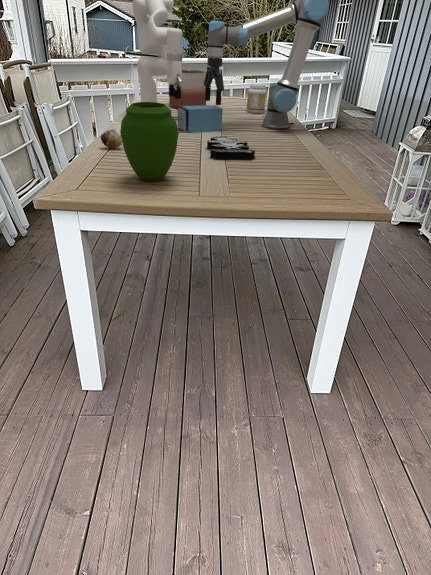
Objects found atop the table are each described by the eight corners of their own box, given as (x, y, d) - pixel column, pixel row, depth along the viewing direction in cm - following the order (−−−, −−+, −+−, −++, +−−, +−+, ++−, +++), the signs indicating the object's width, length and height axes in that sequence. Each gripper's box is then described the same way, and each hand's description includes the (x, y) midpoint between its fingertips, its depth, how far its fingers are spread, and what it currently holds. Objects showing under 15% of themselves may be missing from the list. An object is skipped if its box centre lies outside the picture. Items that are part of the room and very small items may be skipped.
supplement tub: (247, 109, 285) (249, 83, 276) (264, 111, 283) (267, 84, 274) (245, 112, 274) (248, 84, 265) (264, 114, 273) (266, 86, 264)
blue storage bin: (189, 132, 215) (189, 109, 209) (181, 128, 223) (181, 106, 217) (221, 130, 222) (222, 108, 216) (213, 126, 230) (214, 105, 224)
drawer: (173, 130, 212) (172, 111, 207) (167, 127, 219) (166, 108, 214) (214, 128, 221) (215, 110, 216) (207, 125, 228) (207, 107, 223)
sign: (211, 151, 170) (204, 135, 195) (211, 159, 172) (203, 142, 197) (256, 152, 172) (243, 136, 198) (255, 159, 174) (242, 143, 199)
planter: (200, 104, 298) (200, 69, 286) (210, 110, 277) (212, 73, 266) (165, 104, 290) (165, 69, 278) (174, 110, 270) (173, 72, 258)
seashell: (124, 147, 182) (123, 128, 178) (122, 150, 177) (120, 130, 173) (103, 146, 182) (101, 127, 178) (100, 149, 177) (98, 129, 173)
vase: (131, 189, 135) (125, 110, 122) (118, 172, 150) (112, 100, 137) (186, 184, 142) (187, 109, 129) (169, 168, 157) (167, 99, 144)
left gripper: (161, 56, 204) (162, 95, 213) (173, 59, 191) (173, 100, 200) (175, 57, 207) (175, 94, 216) (188, 59, 194) (188, 99, 203)
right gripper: (198, 55, 215) (197, 99, 226) (218, 59, 196) (216, 106, 207) (211, 55, 218) (209, 99, 229) (232, 59, 199) (229, 106, 210)
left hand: (174, 97), depth 208 cm, fingers open, 8 cm apart
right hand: (212, 102), depth 218 cm, fingers open, 13 cm apart
